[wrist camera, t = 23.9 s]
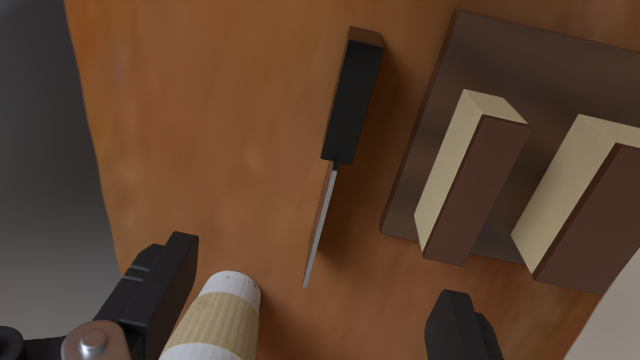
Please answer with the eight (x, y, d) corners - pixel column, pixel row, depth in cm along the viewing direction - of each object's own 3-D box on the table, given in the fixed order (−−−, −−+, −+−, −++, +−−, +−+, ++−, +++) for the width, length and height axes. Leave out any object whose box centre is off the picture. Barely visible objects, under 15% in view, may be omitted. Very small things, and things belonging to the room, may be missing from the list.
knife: (349, 25, 31) (348, 43, 26) (380, 32, 31) (385, 52, 26) (299, 239, 42) (290, 285, 36) (322, 244, 42) (317, 290, 36)
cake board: (455, 8, 30) (459, 10, 29) (687, 64, 31) (702, 69, 30) (379, 224, 40) (379, 233, 39) (556, 263, 41) (562, 273, 40)
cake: (578, 113, 32) (622, 147, 27) (647, 129, 32) (703, 165, 27) (510, 234, 38) (534, 281, 33) (568, 247, 38) (602, 295, 33)
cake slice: (463, 88, 31) (484, 117, 26) (503, 97, 32) (533, 128, 26) (413, 214, 37) (423, 258, 32) (447, 222, 38) (462, 267, 32)
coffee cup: (199, 322, 49) (143, 458, 36) (180, 257, 44) (108, 388, 31) (281, 323, 48) (254, 464, 35) (271, 257, 43) (235, 392, 30)
